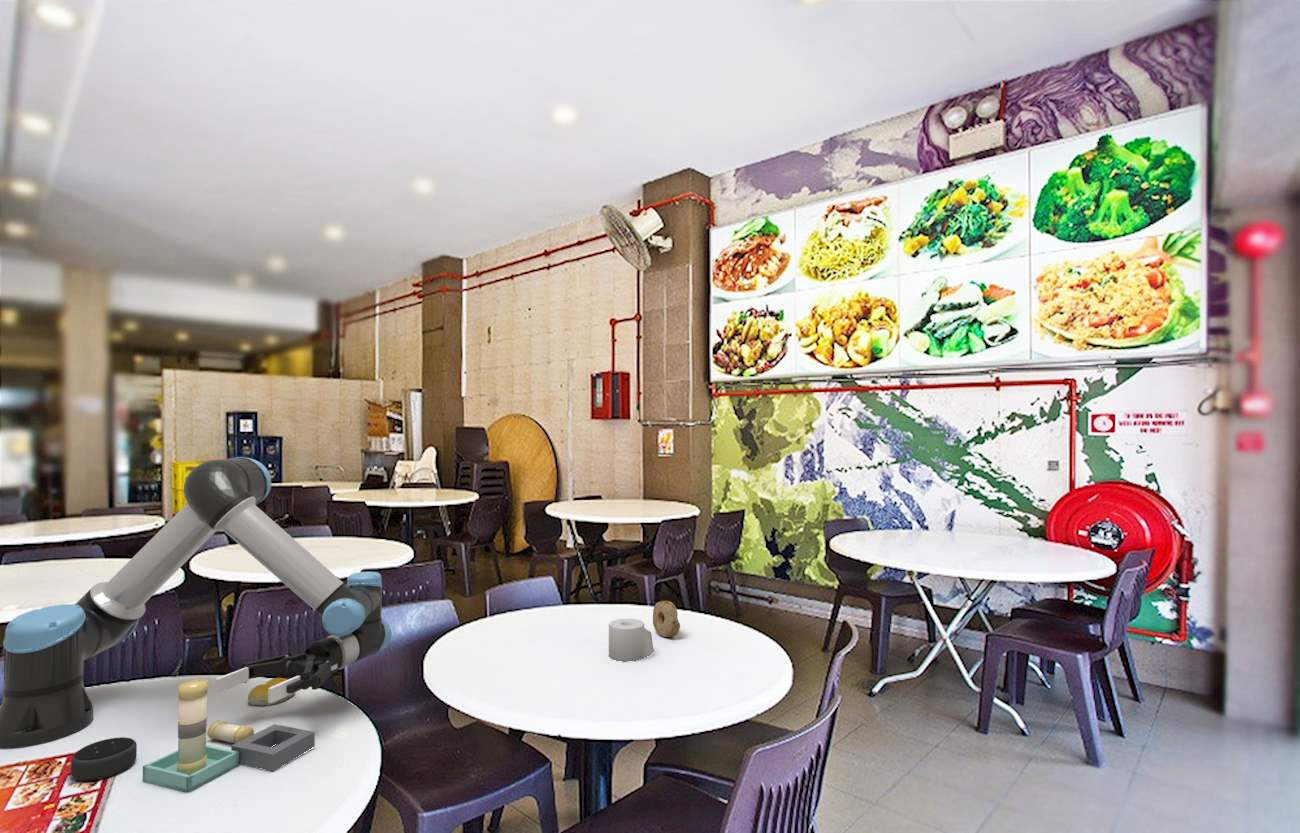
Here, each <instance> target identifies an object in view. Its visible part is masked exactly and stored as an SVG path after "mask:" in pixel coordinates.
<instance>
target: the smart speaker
mask: <svg viewBox="0 0 1300 833" xmlns="http://www.w3.org/2000/svg"><path fill="white" fill-rule="evenodd" d="M137 745H138V744H137V741H136V740H134V739H133V738H131V737H125V736H123V737H113V738H111V737H110V738H106V739H102V740H98V741H96V742H93V743H90V744H87V745H85V746H84V747H82V748H80V749H79V750H77V751H76V752H75V753H74V754H73V756H72V757H71V760H70V775H71V777H72V778H73V779H75V780H77V781H82V782H85V781H86V782H87V781H88V782H89V781H97V780H102V779H105V778H106V779H107V778H109V777H112V776H114V775H117V774H120V773H122V772H123V771H126V770H127V769H128V768H130V767H131V766H132V765H133V764H134V763H135V761H137V755H138V754H137V751H138V749H137V748H138V746H137Z"/></svg>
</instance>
